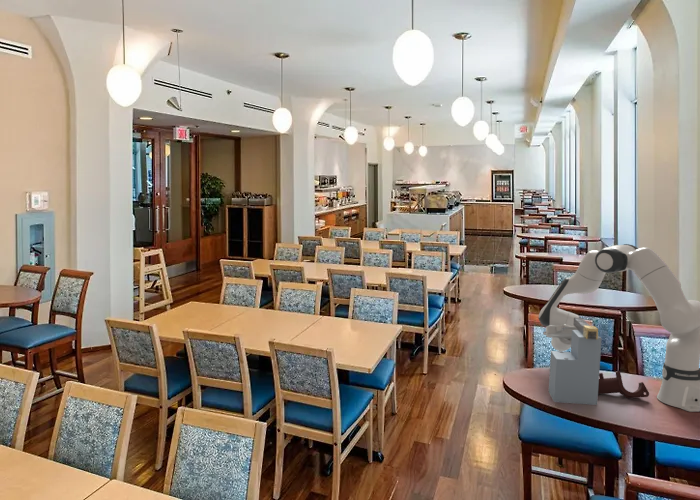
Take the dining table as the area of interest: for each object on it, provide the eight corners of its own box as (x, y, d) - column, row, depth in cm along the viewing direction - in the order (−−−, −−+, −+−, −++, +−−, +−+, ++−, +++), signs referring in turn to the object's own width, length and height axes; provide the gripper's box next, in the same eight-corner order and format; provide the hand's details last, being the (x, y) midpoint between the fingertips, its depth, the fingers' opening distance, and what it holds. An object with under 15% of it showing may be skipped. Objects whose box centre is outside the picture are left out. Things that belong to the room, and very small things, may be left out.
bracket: (651, 396, 194) (644, 368, 198) (599, 400, 200) (593, 372, 203) (647, 396, 200) (641, 369, 204) (598, 400, 206) (592, 373, 209)
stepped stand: (589, 394, 203) (593, 330, 200) (597, 404, 194) (601, 338, 190) (548, 391, 206) (552, 328, 203) (554, 401, 196) (557, 336, 193)
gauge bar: (582, 325, 208) (583, 315, 208) (597, 339, 189) (598, 329, 188) (572, 324, 209) (572, 315, 209) (586, 338, 190) (586, 328, 189)
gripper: (541, 327, 228) (548, 319, 216) (590, 329, 225) (600, 321, 212) (542, 341, 226) (549, 333, 213) (592, 343, 222) (601, 336, 210)
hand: (575, 327), depth 213 cm, fingers open, 8 cm apart
